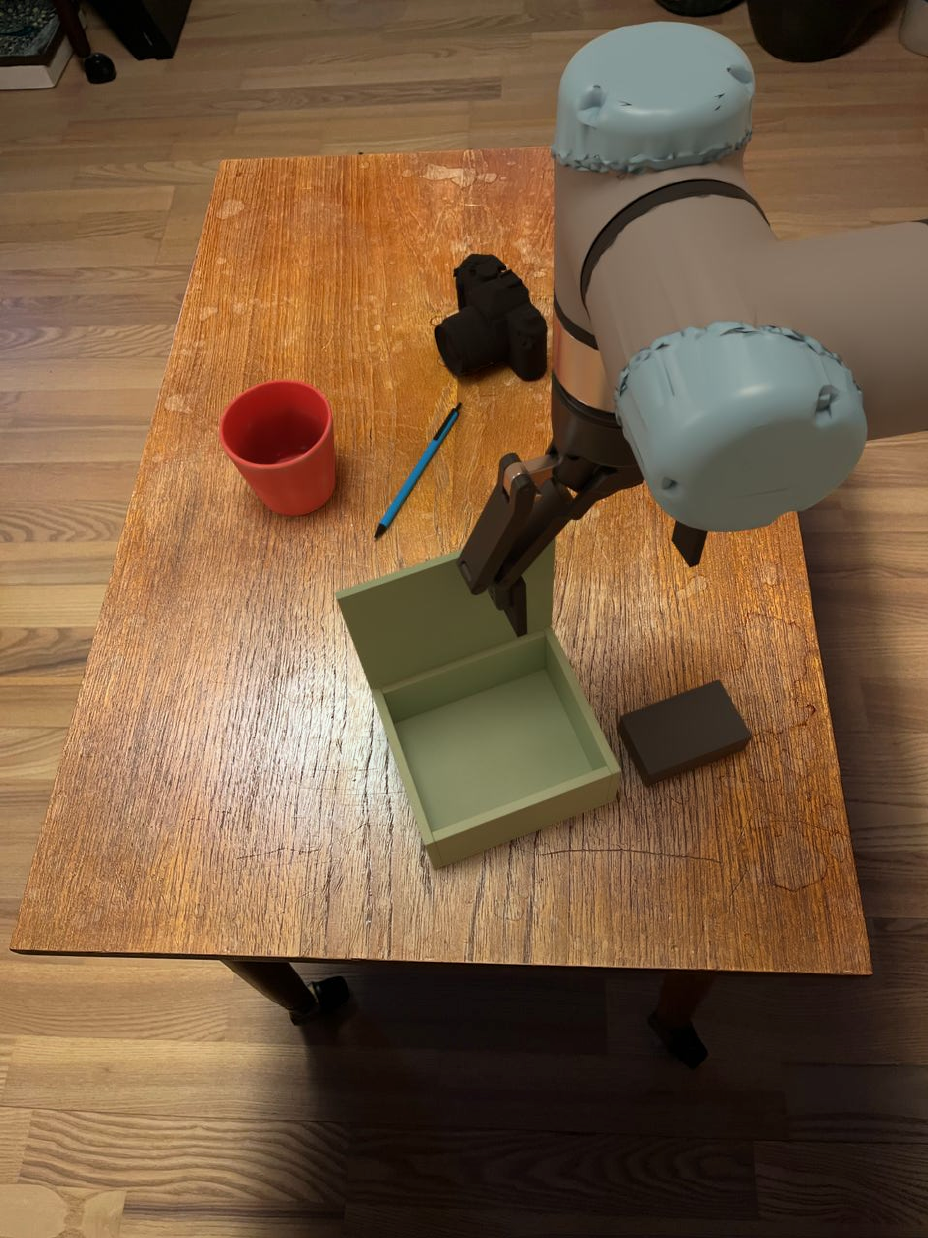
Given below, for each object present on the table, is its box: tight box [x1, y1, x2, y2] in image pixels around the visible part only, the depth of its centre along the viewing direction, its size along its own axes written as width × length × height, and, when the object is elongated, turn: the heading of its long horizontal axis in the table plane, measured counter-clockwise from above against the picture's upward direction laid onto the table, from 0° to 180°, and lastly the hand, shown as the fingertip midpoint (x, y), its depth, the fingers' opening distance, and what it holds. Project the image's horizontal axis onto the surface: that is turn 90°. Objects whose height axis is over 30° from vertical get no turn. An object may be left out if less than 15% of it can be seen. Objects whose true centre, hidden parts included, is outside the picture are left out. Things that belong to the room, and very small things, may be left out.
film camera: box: [433, 253, 549, 382], centre depth 96 cm, size 15×10×9 cm, turn 31°
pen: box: [373, 401, 463, 541], centre depth 92 cm, size 1×19×1 cm, turn 154°
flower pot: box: [218, 378, 336, 517], centre depth 88 cm, size 11×11×10 cm
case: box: [370, 625, 622, 871], centre depth 73 cm, size 14×16×7 cm
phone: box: [616, 678, 753, 789], centre depth 74 cm, size 6×9×3 cm, turn 110°
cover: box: [334, 536, 557, 690], centre depth 67 cm, size 14×16×1 cm
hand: (601, 586), depth 65 cm, fingers open, 13 cm apart
